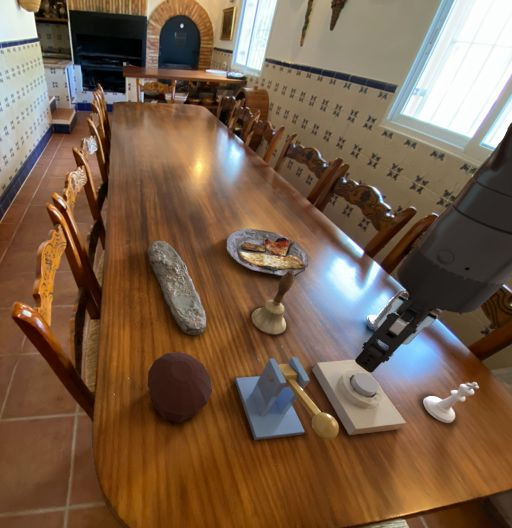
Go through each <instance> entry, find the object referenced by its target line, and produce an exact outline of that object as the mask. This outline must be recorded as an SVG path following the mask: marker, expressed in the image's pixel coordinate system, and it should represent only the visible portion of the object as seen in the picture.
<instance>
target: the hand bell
mask: <svg viewBox="0 0 512 528" xmlns="http://www.w3.org/2000/svg"><path fill="white" fill-rule="evenodd" d="M294 277H295V276H294V271H292V270H288V271H287V273H286V274H284V275H283V276H281V278H280V279H279V282H278V286H277V292H276V295H275V296H274V297H273V299H268V300H267V301H266V302H265V303H264V304H263V306H262V307H259V308H256V309H254V311H252V313H251V316H250V318H251V322H252V324H253V325H254V326H255V327H256V328H257V329H258V330H259V331H261V332H263V333H265V334H267V335H281V334H282V333H284V332H285V331H286V328H287V322H286V319H285V318H284V313H285V306H284V305H283V303H282V302H283V299H284V297H285V295H286V293H288V292H289V290H290V289H291V288H292V286H293V284H294Z"/></svg>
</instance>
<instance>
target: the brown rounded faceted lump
mask: <svg viewBox="0 0 512 528" xmlns="http://www.w3.org/2000/svg"><path fill="white" fill-rule="evenodd" d="M147 388H148V390H149V393H150V395H151V399H152V404H153V409H155V410H156V412H158V413H159V415H160V416H161V417H162V419H163V420H165V421H171V422H175V423H177V424H180V423H182V422H184V421H186V420H188V419H192V418H194V417H195V415H196V414H197V413H198V412H199V411H200V410H202V408H204V407H205V406H206V405H207V404H208V403H209V400H210V398H211V395H212V393H213V387H212V379H211V375H210V373H209V371H208V370H207V369H206V367H205V365H204V363H202V362H201V361H199V360H198V359H197V358H195V357H194V356H192V355H191V354H190V353H189V354H188V353H185V352H182V351H172V352H171V351H170V352H167V353H166V352H165V353H164V354H163V355H161V356H160V357H158V358H156V359H155V360H154V361H153V363H152V365H151V366H150V368H149V370H148V371H147Z"/></svg>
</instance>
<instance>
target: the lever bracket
mask: <svg viewBox="0 0 512 528" xmlns="http://www.w3.org/2000/svg"><path fill="white" fill-rule="evenodd" d="M278 364H279V363H278V362H277V360H276V358H268V360H267V363H266V364H265V367H264V368H263V370H262V372H261V374H260V375H257V376H256V375H255V376H245V377H236V378H235V380H234V384H235V386H236V389H237V392H238V395H239V398H240V401H241V404H242V406H243V407H242V408H243V411H244V412H245V415H246V419H247V421H248V425H249V427H250V430H251V433H252V436H253V440H254V441H257V440H258V441H259V440H268V439H269V440H270V439H276V438H285V437H292V436H301V435H303V434H304V433H305V429H304V428H303V425H302V422H301V420H300V419H299V417H298V414H297V412H296V410H295V408H294V406H293V404H294V403H295V402H296V401H297V399H298V398H297V397H296V395H295V394H294V393H293V391H292V390H291V389H290V387H284V386H285V384H286V381H285V379H284V376H283V374H282V372H281V370H280V368H279V366H278ZM287 364H289V365H290V366H291V367H292V369H293V370H294V371H295V372H296V373H297V379H296V382H297V383H298V385H299V386H300V387H301V388H302V389H303V390H305V389H306V387H307V385H308V384H309V383H310V381H311V380H310V378H309V376H308V374H307V372H306V371H305V369H304V367H303V364H302V363H301V361H300V360H299V358H298V357H297V356H291V357H290V359H289V360H288V362H287Z"/></svg>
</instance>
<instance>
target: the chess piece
mask: <svg viewBox="0 0 512 528" xmlns="http://www.w3.org/2000/svg"><path fill="white" fill-rule="evenodd" d="M474 389H475V390H479V389H480V386H479V385H478V383H477V382H476V381H473V382H471V383H470V382H465V383H461V384H459V386H458V389H452V390H450V394H451V395H450V396H448V397H446V398H444V399H442V398H440V397H438V396H435V395H429V396H426V397H424V399H423V406H424V408H425V410H426V411H427V413H428V414H429V415H431V416H432V417H433V418H435V419H436V420H437V421H440V422H442V423H446V424H449V423H453V422H454V420H455V419H456V413H455V410H454V408H453V406H454V405H455V404H456V403H457V402H462V403H463V402H465V401H466V397H468V396H474V394H475V390H474Z"/></svg>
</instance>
